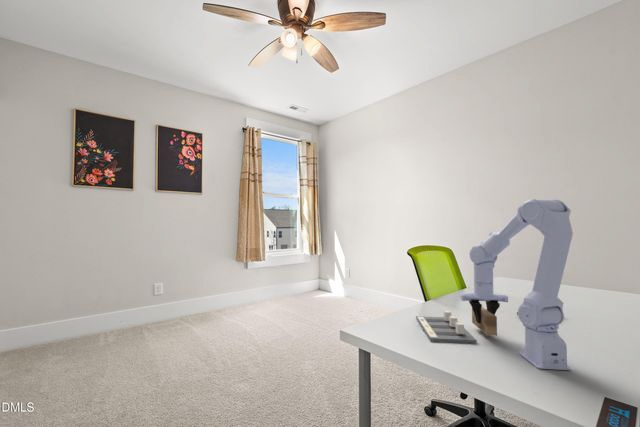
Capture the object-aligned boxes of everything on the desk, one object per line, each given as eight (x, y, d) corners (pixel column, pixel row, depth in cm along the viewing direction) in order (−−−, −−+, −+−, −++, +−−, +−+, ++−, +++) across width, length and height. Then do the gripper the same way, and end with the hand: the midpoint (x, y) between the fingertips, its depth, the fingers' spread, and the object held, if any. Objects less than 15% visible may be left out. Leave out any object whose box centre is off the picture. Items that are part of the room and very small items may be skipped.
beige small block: (464, 334, 97) (463, 324, 97) (457, 334, 97) (457, 324, 97) (461, 332, 99) (461, 322, 99) (455, 331, 99) (455, 322, 99)
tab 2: (457, 327, 103) (457, 318, 103) (451, 327, 104) (451, 318, 104) (455, 325, 105) (455, 316, 105) (449, 325, 106) (449, 316, 106)
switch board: (476, 343, 93) (476, 339, 93) (430, 341, 95) (430, 337, 95) (453, 320, 115) (453, 317, 115) (416, 318, 116) (416, 315, 117)
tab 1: (451, 321, 110) (451, 312, 110) (445, 320, 110) (445, 312, 110) (449, 319, 112) (449, 310, 112) (443, 319, 112) (443, 310, 112)
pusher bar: (497, 335, 94) (496, 316, 95) (487, 335, 95) (486, 316, 95) (481, 322, 106) (480, 305, 106) (472, 322, 107) (472, 305, 107)
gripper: (500, 280, 104) (501, 319, 103) (457, 279, 105) (457, 318, 105) (511, 284, 97) (511, 326, 96) (464, 283, 98) (464, 324, 98)
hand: (484, 322), depth 100 cm, fingers closed on pusher bar, 3 cm apart
